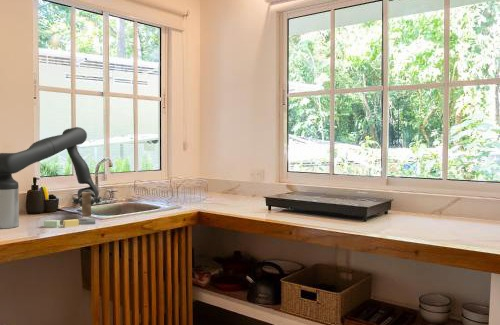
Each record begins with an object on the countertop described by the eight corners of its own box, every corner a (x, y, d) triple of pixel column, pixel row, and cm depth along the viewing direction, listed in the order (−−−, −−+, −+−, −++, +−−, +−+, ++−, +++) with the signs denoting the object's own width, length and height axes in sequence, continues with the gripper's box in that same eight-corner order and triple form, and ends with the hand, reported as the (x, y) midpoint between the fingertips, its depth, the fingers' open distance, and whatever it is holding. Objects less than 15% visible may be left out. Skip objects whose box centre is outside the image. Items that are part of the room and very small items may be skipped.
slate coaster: (77, 224, 206) (77, 222, 206) (77, 221, 214) (77, 219, 214) (95, 223, 209) (95, 221, 209) (95, 221, 216) (95, 218, 216)
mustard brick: (65, 228, 200) (65, 221, 199) (63, 227, 202) (63, 220, 202) (78, 226, 203) (78, 220, 203) (76, 225, 206) (76, 219, 206)
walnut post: (82, 216, 209) (81, 193, 208) (82, 215, 213) (82, 192, 212) (91, 216, 210) (90, 192, 210) (91, 214, 214) (91, 191, 213)
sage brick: (43, 227, 200) (43, 221, 199) (47, 226, 203) (47, 220, 202) (57, 228, 199) (57, 221, 199) (60, 226, 202) (60, 220, 202)
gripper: (72, 190, 222) (70, 195, 206) (102, 190, 227) (102, 194, 210) (72, 205, 222) (70, 211, 206) (102, 204, 227) (102, 210, 211)
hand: (86, 202), depth 208 cm, fingers closed on walnut post, 4 cm apart
